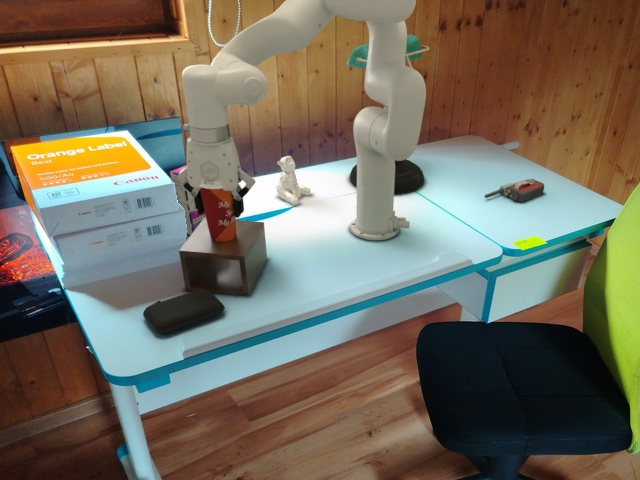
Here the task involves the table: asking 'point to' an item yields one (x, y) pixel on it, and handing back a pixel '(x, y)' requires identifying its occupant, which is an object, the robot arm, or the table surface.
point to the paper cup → (218, 210)
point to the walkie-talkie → (520, 190)
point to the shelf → (224, 259)
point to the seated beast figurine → (290, 182)
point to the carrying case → (183, 311)
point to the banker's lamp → (405, 170)
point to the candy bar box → (186, 202)
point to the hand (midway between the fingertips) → (220, 213)
